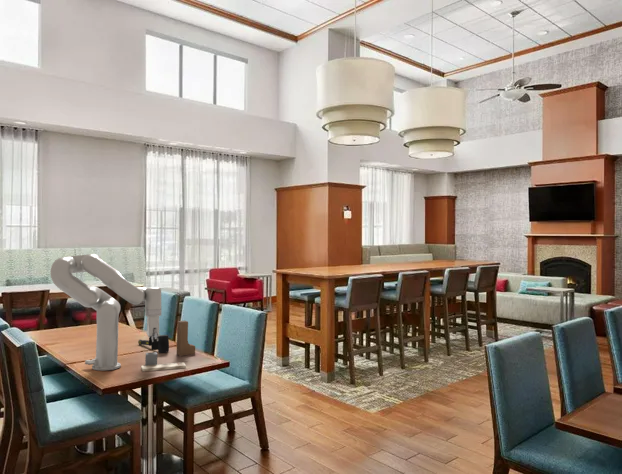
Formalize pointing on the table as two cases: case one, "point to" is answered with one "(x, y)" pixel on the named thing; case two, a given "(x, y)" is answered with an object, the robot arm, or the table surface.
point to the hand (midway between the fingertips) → (153, 347)
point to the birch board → (163, 366)
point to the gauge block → (151, 358)
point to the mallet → (159, 343)
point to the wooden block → (183, 340)
